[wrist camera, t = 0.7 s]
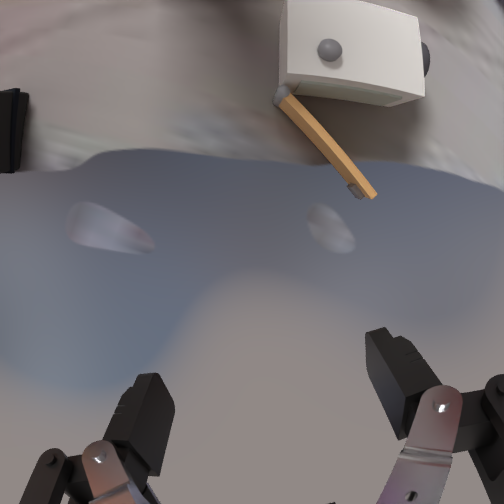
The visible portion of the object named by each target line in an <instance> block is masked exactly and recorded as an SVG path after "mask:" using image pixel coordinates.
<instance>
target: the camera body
mask: <svg viewBox="0 0 504 504" xmlns="http://www.w3.org/2000/svg"><path fill="white" fill-rule="evenodd" d="M429 65H430V54H429V50H428V47H427V46H426V44H424V43H423V42H421V39H420V31H419V24H418V18H417V17H414V16H411V15H409V14H405V13H402V12H399V11H396V10H393V9H389V8H386V7H382V6H378V5H375V4H371V3H367V2H362V1H358V0H285V1H284V6H283V10H282V14H281V19H280V23H279V86H281V85H286V86H288V87H289V89H290V93H291V94H293V95H305V96H315V97H324V98H332V99H340V100H347V101H354V102H360V103H366V104H372V105H377V106H386V107H392V106H395V105H399V104H402V103H405V102H409V101H412V100H416V99H419V98H423V97H425V84H424V77H425V76H426V74H427V72H428V69H429Z"/></svg>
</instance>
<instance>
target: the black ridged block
mask: <svg viewBox="0 0 504 504" xmlns="http://www.w3.org/2000/svg"><path fill="white" fill-rule="evenodd" d="M27 100H28V93H25V92H20V89H19V88H13V89H8V90H4V91H0V174H1V173H15V170H17V169H19V167H20V154H21V143H22V134H23V126H24V119H25V112H26V106H27Z"/></svg>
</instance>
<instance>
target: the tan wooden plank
mask: <svg viewBox="0 0 504 504" xmlns="http://www.w3.org/2000/svg"><path fill="white" fill-rule="evenodd" d="M273 104H274V105H275V106H277V107H280V108H281V109H282V110H283V111H284V112H285V113H286V114H287V115H288V116H289V118H290V119H291V120H292V121H293V122H294V123H295V124H296V125H297V126H298V127H299V128H300V129H301V130H302V131H303V132H304V133H305V135H306V136H307V137H308V138H309V139H310V140H311V141H312V142H313V143H314V144H315V146H316V147H317V148H318V149H319V150H320V151H321V152H322V154H323V155H324V156H325V157H326V158H327V159H328V160H329V162H330V163H331V164H332V165H333V166H334V167H335V169H336V170H337V171H338V172H339V173H340V175H341V176H342V177H343V178H344V179H345V181H346V182H347V183H348V184H349V185H348V186H347V187H348V189H349V190H350V191H351V192H352V194H353V195H354V196H355V197H356V198H358V199H360V200H361V199H362V198H363V197H366V198H369V199H373V198H374V197H375V196H376V195H377V193H376V192H375V190H374V189H373V188H372V186H371V185H370V184H369V182H368V181H367V180H366V178H365V177H364V176H363V175H362V173H361V172H360V171H359V170H358V168H357V167H356V166H355V165H354V163H353V162H352V161H351V160H350V158H349V157H348V156H347V155H346V154H345V152H344V151H343V150H342V149H341V148H340V146H339V145H338V144H337V143H336V142H335V141H334V139H333V138H332V137H331V136H330V135H329V134H328V133H327V131H326V130H325V129H324V128H323V127H322V126H321V125H320V124H319V123H318V121H317V120H316V119H315V118H314V117H313V116H312V115H311V114H310V113H309V112H308V111H307V110H306V108H305V107H304V106H303V105H302V104H301V103H300V102H299V101H298V100H297V99H296V98H295V97H294V96H293V95H292V94H291V93H290V89H289V87H288V86H286V85H281V86H279V87H278V88H277V91H276V93H275V96H274V98H273Z"/></svg>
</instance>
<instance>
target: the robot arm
mask: <svg viewBox="0 0 504 504" xmlns="http://www.w3.org/2000/svg"><path fill="white" fill-rule="evenodd" d="M365 344H366V367H367V372H368V375H369V378H370V380H371V382H372V384H373V386H374V389H375V391H376V393H377V395H378V397H379V399H380V401H381V403H382V406H383V408H384V410H385V412H386V415H387V417H388V419H389V421H390V423H391V425H392V428H393V430H394V432H395V435H396V437H397V439H398V440H401V439H404V438H406V437H407V441H406V443H405V446H404V448H403V450H402V451H401V452H400V455H399V457H398V459H397V461H396V464H395V466H394V468H393V470H392V473H391V475H390V477H389V479H388V481H387V484H386V486H385V487H384V490H383V492H382V494H381V496H380V498H379V500H378V501H377V503H376V504H439V501H440V498H441V496H442V493H443V490H444V487H445V484H446V481H447V478H448V474H449V471H450V468H451V464H452V457H451V456H452V453H457V452H461V451H467V450H468V452H469V454H470V456H471V458H472V460H473V463H474V465H475V467H476V469H477V471H478V473H479V476H480V478H481V480H482V482H483V485H484V487H485V490H486V492H487V494H488V497H489V499H490V501H491V504H504V374H500V375H496V376H494V377H492V378H491V379H490V380H489V381H488V382H487V384H486V386H485V389H483V390H478V391H473V392H467V393H460V392H459V391H458V390H457V389H455V388H453V387H451V386H447V385H442V383H441V382H440V380H439V379H438V378H437V376H436V375H435V374H434V372H433V371H432V369H431V368H430V366H429V365H428V364H427V362H426V361H425V360H424V359H423V357H422V356H421V354H420V353H419V352H418V351H417V349H416V348H415V346H414V345H413V344H412V343H411V341H409V340H407V339H405V338H404V337H402V336H398V337H395V338H393V337H392V336H391V334H390V333H389V331H388V330H387V329H386V328H385V327H383V328H380V329H376V330H373V331H370V332H366V334H365ZM114 413H115V414H114V415H113V417H112V418H111V421H110V423H109V425H108V428H107V430H106V432H105V435H104V437H103V439H102V440H100V441H96V442H93V443H91V444H90V445H89V446H88V447H87V448H86V449H85V450H84V452H83V454H82V455H76V456H70V457H67V456H66V455H65V454H64V453H63V451H61V450H60V449H57V448H52V449H49V450H47V451H45V452H44V453H43V454H42V455H41V456H40V458H39V460H38V462H37V464H36V466H35V469H34V471H33V473H32V475H31V477H30V480H29V482H28V484H27V486H26V489H25V491H24V494H23V496H22V498H21V501H20V503H19V504H60V503H61V500H62V497H63V494H64V493H65V494H67V495H68V496H69V497H70V499H69V501H68V504H161V503H160V501H159V500H158V498H157V497H156V495H155V493H154V492H153V490H152V488H151V487H150V485H149V484H148V483H147V479H148V476H160V472H161V467H162V463H163V459H164V454H165V450H166V446H167V442H168V438H169V434H170V430H171V426H172V422H173V418H174V414H175V405H174V401H173V399H172V397H171V395H170V393H169V392H168V390H167V388H166V386H165V384H164V382H163V380H162V378H161V377H160V375H159V374H158V373H147V374H139V375H138V376H137V378H136V381H135V383H134V385H133V387H130V388H129V389H128V390H127V391H126V392H125V393H124V394H123V395H122V396H121V399H120V401H119V403H118V407H117V408H116V410H115V412H114ZM329 504H335V502H334V503H329Z"/></svg>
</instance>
